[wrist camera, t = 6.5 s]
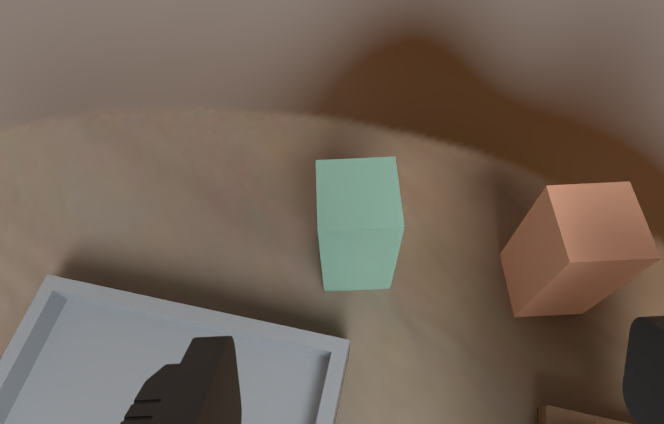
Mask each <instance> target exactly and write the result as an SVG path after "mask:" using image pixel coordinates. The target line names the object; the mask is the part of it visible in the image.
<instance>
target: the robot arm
mask: <svg viewBox="0 0 664 424" xmlns="http://www.w3.org/2000/svg"><path fill="white" fill-rule="evenodd" d="M623 396H624V400H625V403H626V406H627V409H628V411H629V413H630V414H631V416H632V417H633V419H634V420H635V421H636V422H637V423H638V424H664V316H650V317H638V318H636V319H635V320H634V321H633V323H632V325H631V328H630V333H629V341H628V348H627V356H626V363H625V371H624V378H623ZM241 421H242V405H241V395H240V386H239V377H238V368H237V359H236V350H235V344H234V340H233V337H232V336H213V337H195V338H193V339H192V341H191V343H190V345H189V347H188V349H187V351H186V352H185V354H184V356H183V358H182V360H181V362H180V364H166V365H164V366H163V367H162V368H161V369H159V370H158V371H157V372H156V373H155V374H153V375H152V376H151V377H150V378H149V379H147V380H146V381H145V383H144V384H143V386H142V388H141V389H140V391H139V393H138V394H137V396H136V398H135V399H134V404H131V406H130V408H129V409H128V411H127V413H126V415H125V416H124V421H121V423H120V424H241Z"/></svg>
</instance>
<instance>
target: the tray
mask: <svg viewBox="0 0 664 424" xmlns="http://www.w3.org/2000/svg"><path fill="white" fill-rule="evenodd" d="M213 336H232V337H233V340H234V344H235V350H236V359H237V368H238V377H239V386H240V395H241V405H242V421H241V424H335V420H336V415H337V410H338V405H339V400H340V395H341V390H342V385H343V380H344V375H345V370H346V366H347V361H348V356H349V350H350V340H348V339H343V338H339V337H334V336H329V335H325V334H320V333H315V332H311V331H306V330H302V329H297V328H292V327H288V326H283V325H279V324H274V323H269V322H265V321H260V320H256V319H251V318H246V317H242V316H237V315H233V314H228V313H223V312H219V311H214V310H210V309H205V308H200V307H196V306H191V305H187V304H182V303H177V302H173V301H168V300H163V299H159V298H154V297H150V296H145V295H140V294H136V293H131V292H127V291H122V290H117V289H113V288H108V287H104V286H99V285H94V284H90V283H85V282H81V281H76V280H71V279H67V278H62V277H58V276H53V275H48V274H47V276H46V277H45V279H44V281H43V283H42V285H41V287H40V288H39V290H38V292H37V294H36V296H35V298H34V299H33V301H32V303H31V305H30V307H29V308H28V310H27V312H26V314H25V316H24V318H23V319H22V321H21V323H20V325H19V327H18V329H17V330H16V332H15V334H14V336H13V338H12V340H11V341H10V343H9V345H8V347H7V349H6V351H5V352H4V354H3V356H2V358H1V360H0V424H120V423H121V421H124V416H125V415H126V413H127V411H128V409H129V408H130V406H131V404H134V399H135V398H136V396H137V394H138V393H139V391H140V389H141V388H142V386H143V384H144V383H145V381H146V380H147V379H149V378H150V377H151V376H152V375H153V374H155V373H156V372H157V371H158V370H159V369H161V368H162V367H163V366H164V365H166V364H180V362H181V360H182V358H183V356H184V354H185V352H186V351H187V349H188V347H189V345H190V343H191V341H192V339H193V338H195V337H213Z"/></svg>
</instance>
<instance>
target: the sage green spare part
mask: <svg viewBox="0 0 664 424" xmlns="http://www.w3.org/2000/svg"><path fill="white" fill-rule="evenodd" d="M316 194H317V227H318V240H319V249H320V258H321V268H322V277H323V287H324V292H326V291H347V290H369V289H390V287H391V283H392V278H393V274H394V270H395V266H396V261H397V257H398V253H399V249H400V244H401V240H402V236H403V232H404V219H403V212H402V204H401V196H400V189H399V181H398V173H397V166H396V158H395V157H373V158H352V159H331V160H316Z"/></svg>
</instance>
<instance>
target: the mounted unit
mask: <svg viewBox="0 0 664 424" xmlns="http://www.w3.org/2000/svg"><path fill="white" fill-rule="evenodd" d="M538 424H630V423H626V422H621V421H617V420H612V419H608V418H603V417H599V416H594V415H590V414H585V413H581V412H576V411H572V410H567V409H563V408H558V407H554V406H549V405H545V406H542V407H540V408H538Z"/></svg>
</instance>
